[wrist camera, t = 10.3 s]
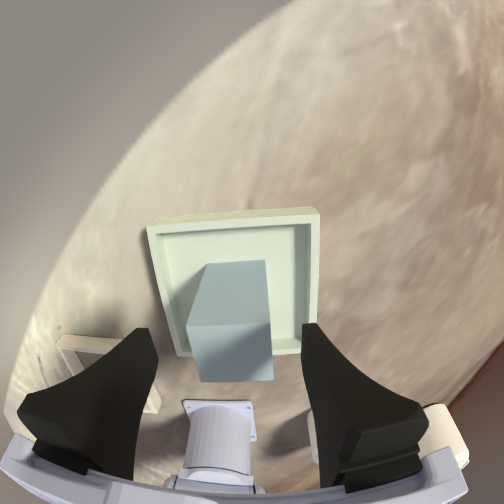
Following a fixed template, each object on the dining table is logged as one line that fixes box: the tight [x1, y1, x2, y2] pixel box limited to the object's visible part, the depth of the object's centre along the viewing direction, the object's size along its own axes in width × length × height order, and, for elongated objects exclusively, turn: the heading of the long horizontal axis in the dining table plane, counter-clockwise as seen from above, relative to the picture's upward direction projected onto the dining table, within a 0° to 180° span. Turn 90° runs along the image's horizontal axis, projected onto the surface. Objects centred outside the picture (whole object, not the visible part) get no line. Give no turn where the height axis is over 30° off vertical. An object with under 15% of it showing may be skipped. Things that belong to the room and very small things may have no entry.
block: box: [186, 259, 274, 382], centre depth 19 cm, size 4×4×8 cm
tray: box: [146, 206, 320, 357], centre depth 22 cm, size 12×12×2 cm
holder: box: [56, 334, 161, 414], centre depth 27 cm, size 10×10×2 cm
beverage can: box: [418, 404, 469, 470], centre depth 27 cm, size 8×8×12 cm
